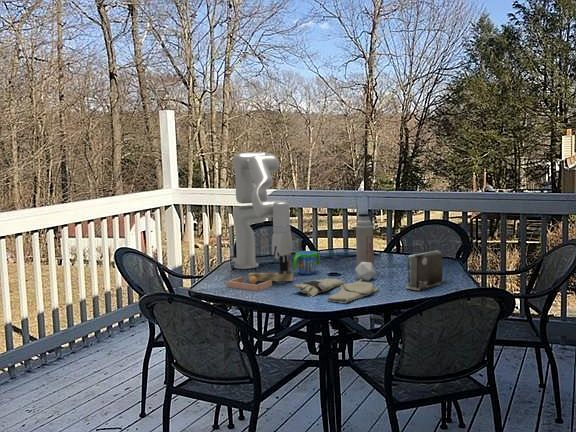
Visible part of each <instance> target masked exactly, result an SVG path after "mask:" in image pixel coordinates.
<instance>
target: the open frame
mask: <svg viewBox="0 0 576 432" xmlns="http://www.w3.org/2000/svg"><path fill="white" fill-rule="evenodd" d="M226 287H227V288H229V289H230V288H232V289H238V290H239V289H240V290H247V291H253V292H259V291H262V290H265V289H267V288H270V287H273V281H272V280H269V281H262V282H261V283H258V284H257V283H255V284H251V283H247V282H244V276H239V277H237V278H233V279H231V280H227V281H226Z"/></svg>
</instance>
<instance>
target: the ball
mask: <svg viewBox="0 0 576 432" xmlns="http://www.w3.org/2000/svg"><path fill="white" fill-rule="evenodd" d="M257 282H258V281H257V278H256V277H255V276H251V277H250V279H249V284H257Z"/></svg>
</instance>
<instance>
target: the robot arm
mask: <svg viewBox="0 0 576 432" xmlns="http://www.w3.org/2000/svg"><path fill="white" fill-rule="evenodd" d="M279 167H280V163H279V160H278V158H277V156H276V155H274V153H273V154H272V153H269V152H268V151H267V152H266V151H256V152H255V151H249V152H245V151H244V152H239V153H236V154H235V155H234V156H233V159H232V168H233V172H234V174H235V200H236V202H237V203H239V204H249V205H240V206H239V205H238V206H237V207H235V208H234V209H233V210H232V218H233V224H234V232H235V246H236V247H235V248H236V249H235V251H236V257H233V258H232V259H231V262H232V263H234V265H233V267H234V268H235V269H238V270H247V269H248V270H250V269H255V268H258V267H259V263H258V262H256V241H255V232H254V230H253V228H252V227H251V226H250V225H252V224H259V223H260V224H262V223H264V222H266V220H267V218H272V229H273V233H272V237H271V254H272V256H274V259H275V260H278V262H279V270H280V271H284V272H286V271H287V270H288V263H287V261H288V260H289V257H291V256H292V253H293V249H294V248H293V238H292V233H291V215H290V214H291V213H290V203H289V202H288V201H284V200H280V199H275V200H274V199H273V200H268V192H267V190H268V189H270V188H272V186H273V184H274V178H273V177H272V174H271V173H276V172H277V171H278V170H279ZM253 181H254V183H253ZM250 204H251V205H250Z"/></svg>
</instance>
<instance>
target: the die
mask: <svg viewBox="0 0 576 432" xmlns="http://www.w3.org/2000/svg"><path fill="white" fill-rule="evenodd" d="M354 271H355V274H356V276H357V278H358V281H359V280H360V279H362V281H366V282H369V281H370V280H371V279H372V278H373V277H374V276H375V275H376V274H377V272H376V269H375V266H374V267H373V265H372V263H370V262H361V263H360V264H359V265H358V266H357V265H356V267H355V268H354Z"/></svg>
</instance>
